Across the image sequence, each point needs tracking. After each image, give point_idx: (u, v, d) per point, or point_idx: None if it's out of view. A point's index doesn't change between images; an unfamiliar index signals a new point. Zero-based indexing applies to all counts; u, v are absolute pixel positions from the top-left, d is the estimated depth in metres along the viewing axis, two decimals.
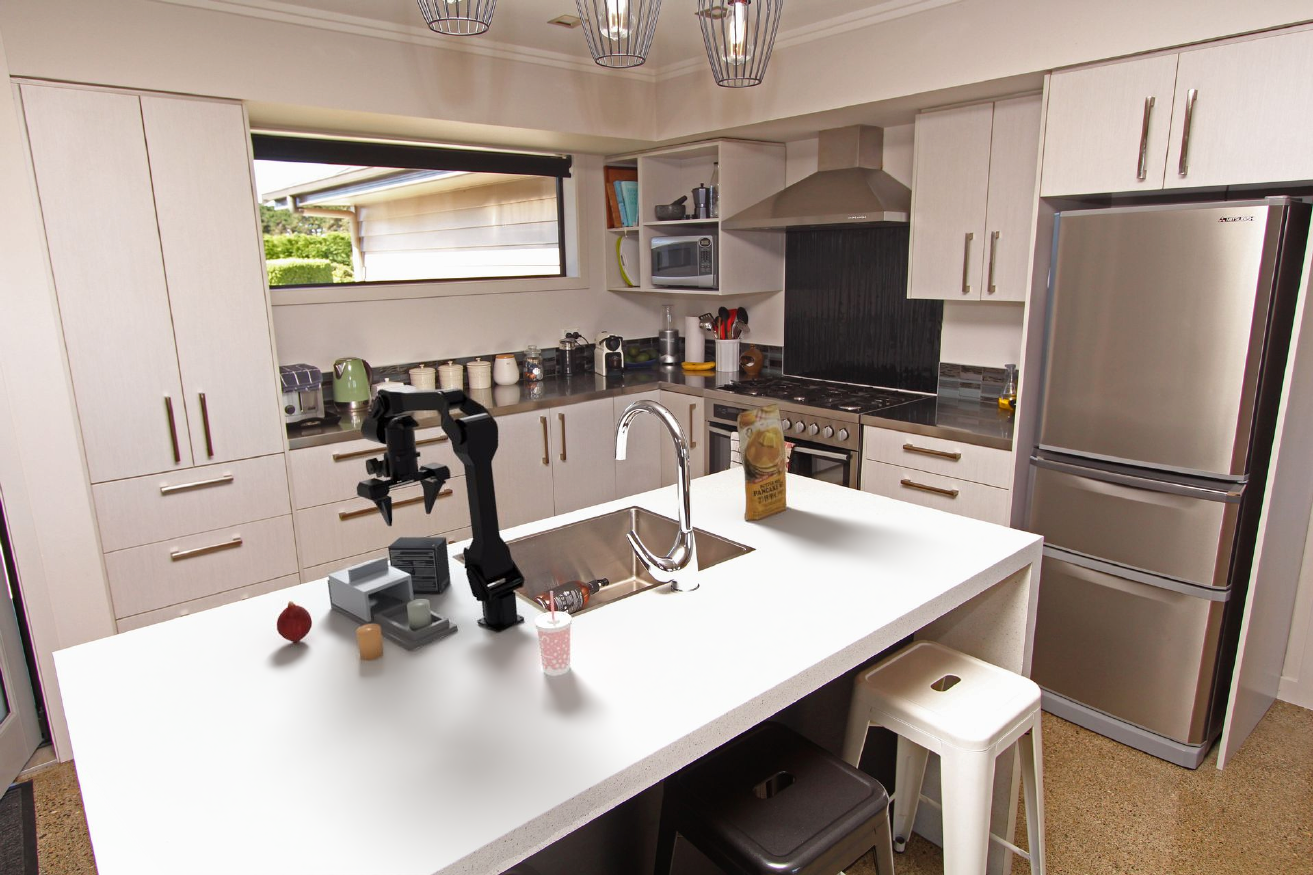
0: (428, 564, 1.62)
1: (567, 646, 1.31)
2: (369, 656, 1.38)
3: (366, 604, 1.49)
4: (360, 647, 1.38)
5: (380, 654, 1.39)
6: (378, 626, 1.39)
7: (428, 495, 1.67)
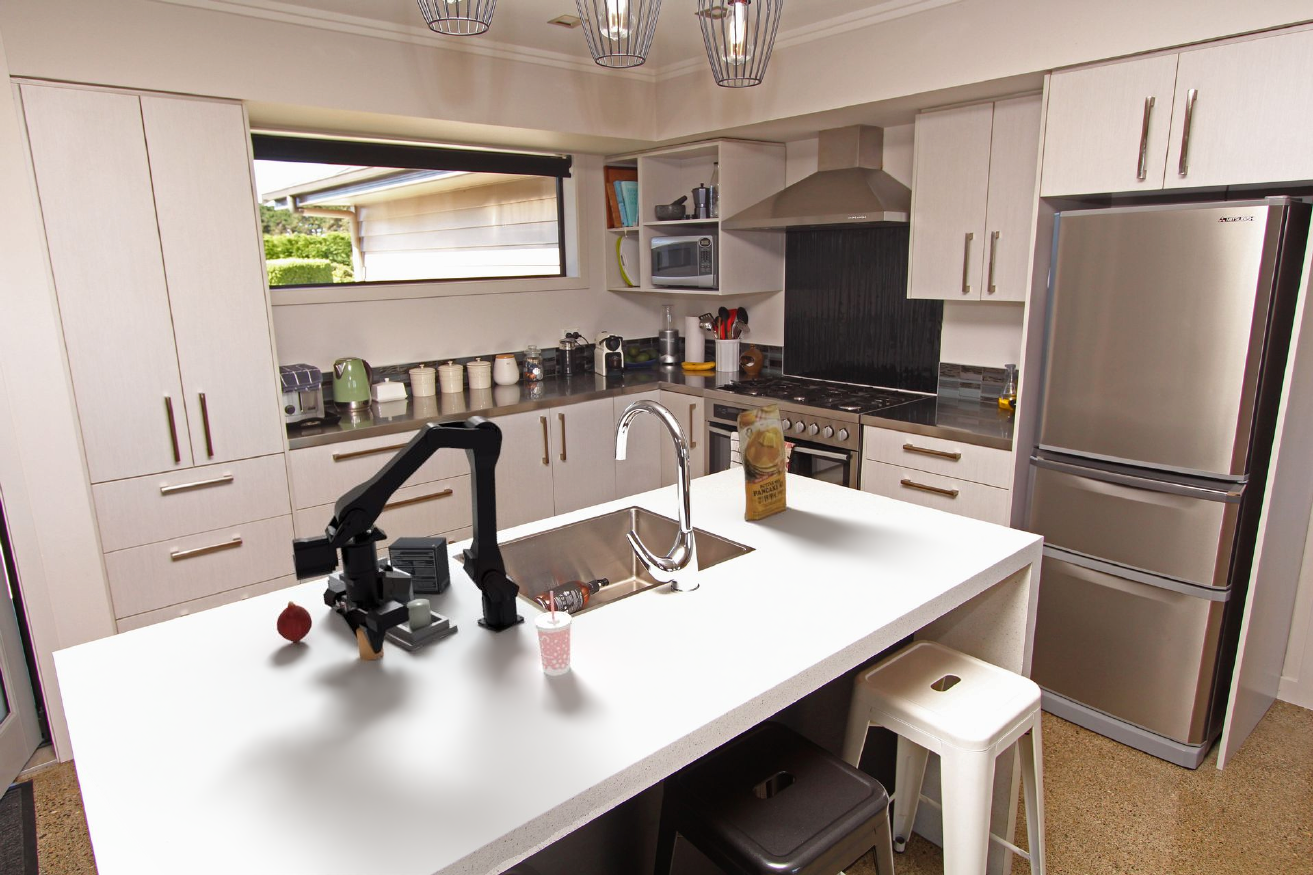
0: (428, 564, 1.62)
1: (567, 646, 1.31)
2: (369, 656, 1.38)
3: None
4: (360, 647, 1.38)
5: (380, 654, 1.39)
6: None
7: None
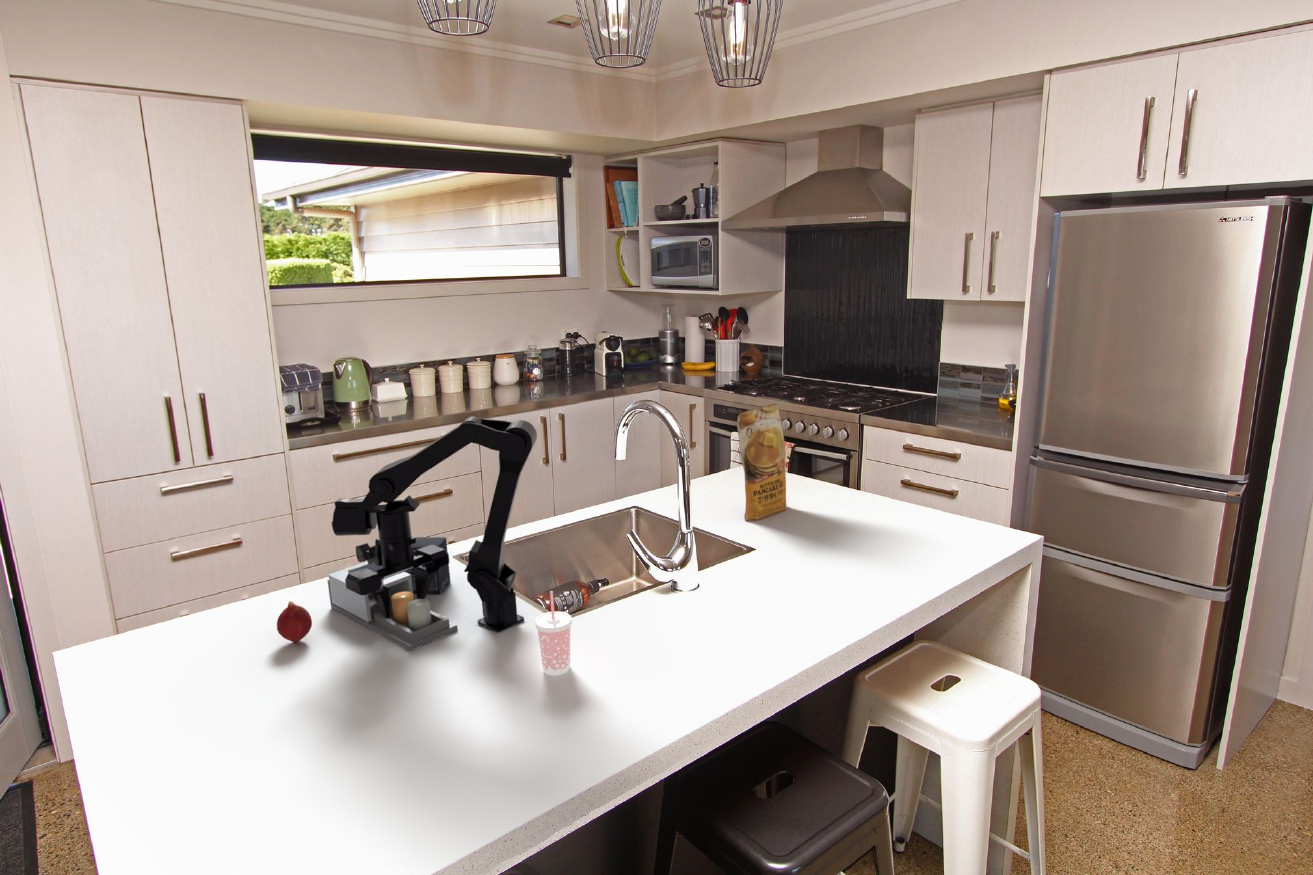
0: None
1: (567, 646, 1.31)
2: None
3: (366, 604, 1.49)
4: None
5: None
6: (400, 592, 1.50)
7: (420, 584, 1.51)
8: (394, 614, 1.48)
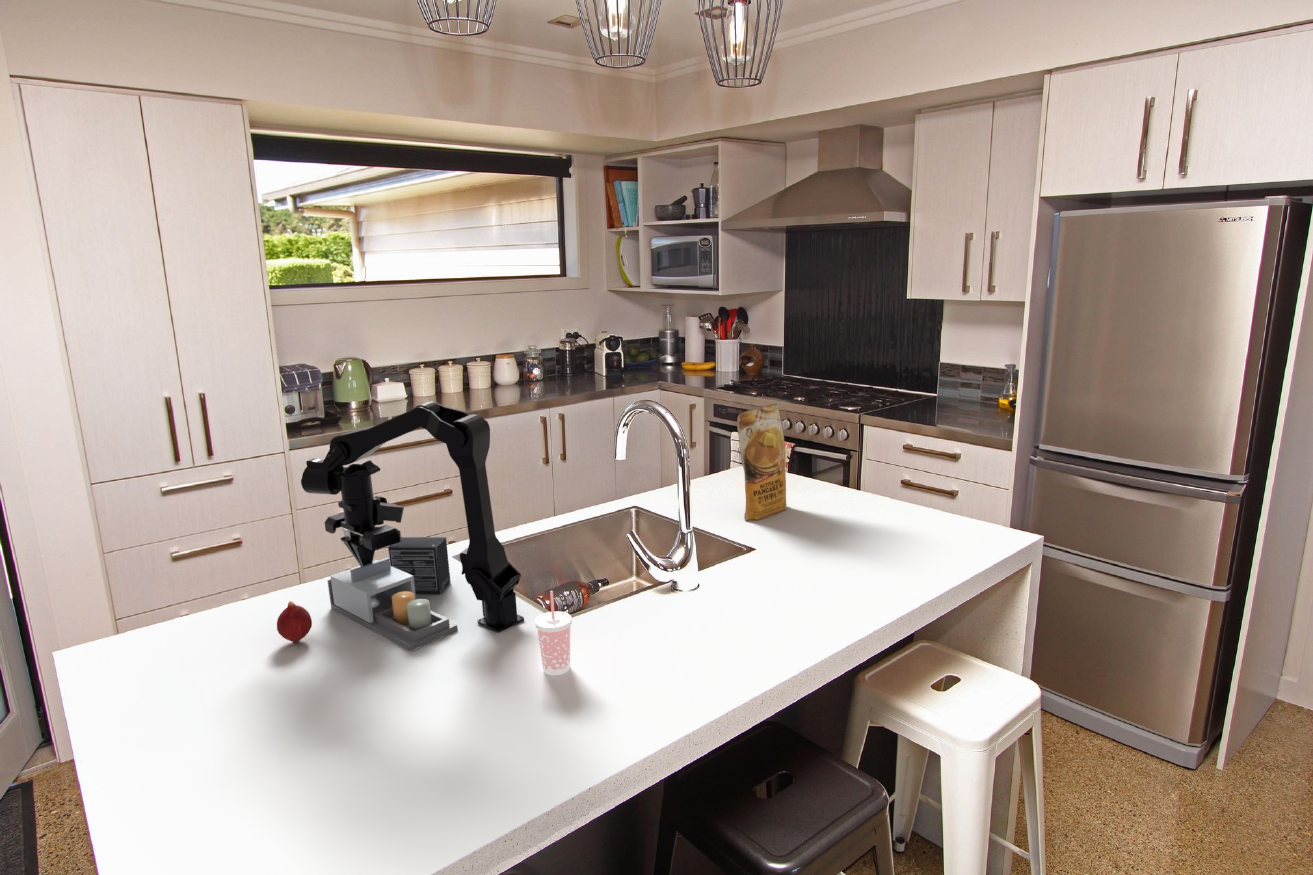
0: (428, 564, 1.62)
1: (567, 645, 1.31)
2: None
3: (369, 605, 1.48)
4: None
5: None
6: (401, 592, 1.50)
7: None
8: (394, 614, 1.48)
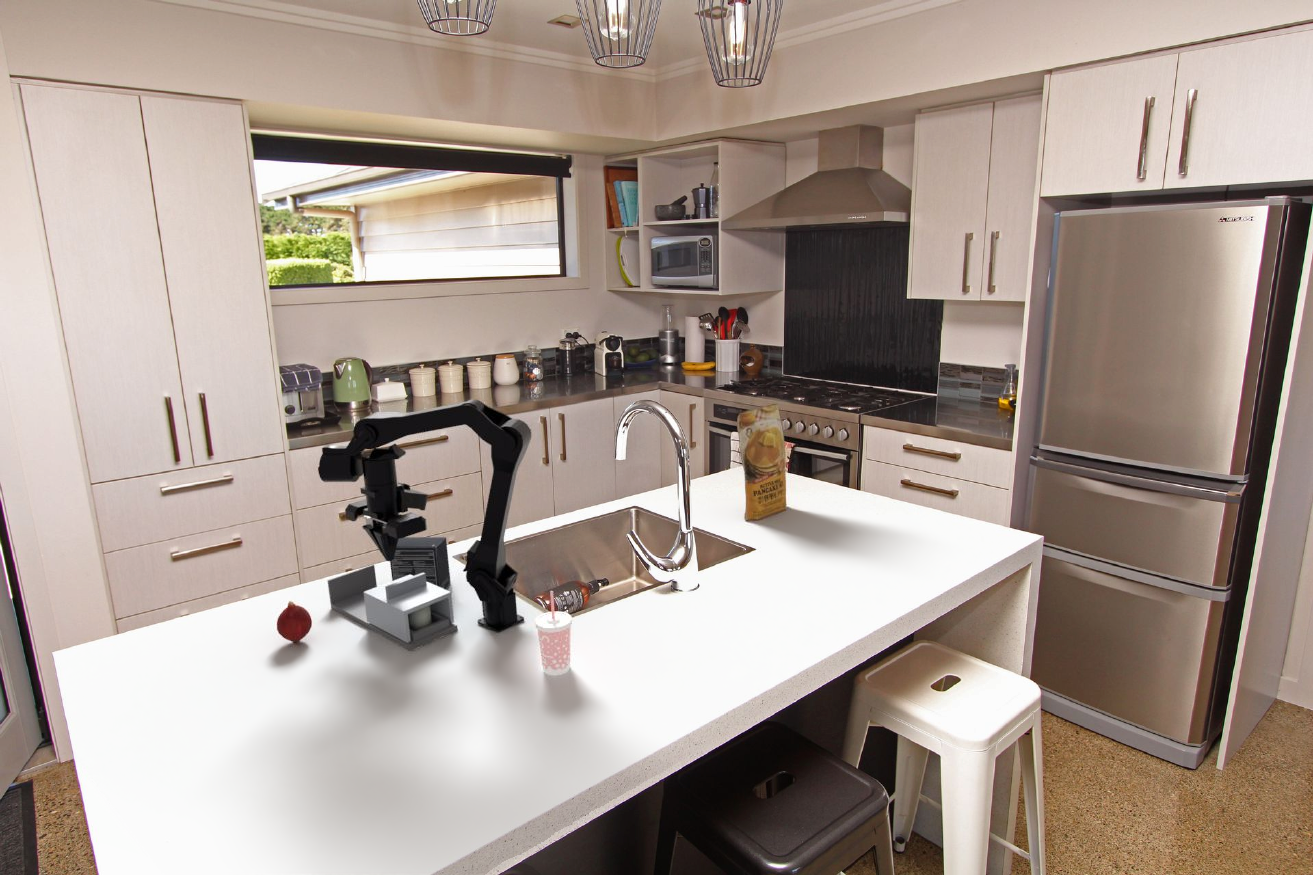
0: (428, 564, 1.62)
1: (568, 646, 1.31)
2: None
3: (406, 623, 1.40)
4: None
5: None
6: None
7: None
8: None
